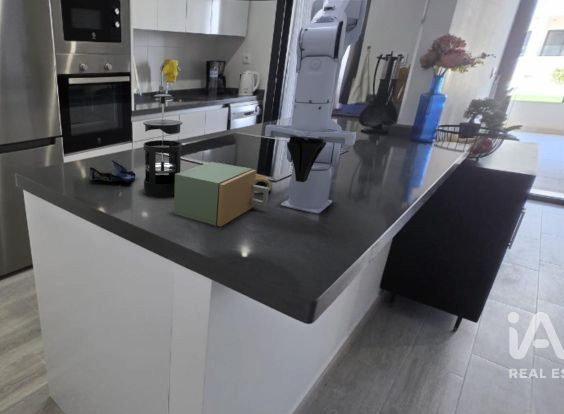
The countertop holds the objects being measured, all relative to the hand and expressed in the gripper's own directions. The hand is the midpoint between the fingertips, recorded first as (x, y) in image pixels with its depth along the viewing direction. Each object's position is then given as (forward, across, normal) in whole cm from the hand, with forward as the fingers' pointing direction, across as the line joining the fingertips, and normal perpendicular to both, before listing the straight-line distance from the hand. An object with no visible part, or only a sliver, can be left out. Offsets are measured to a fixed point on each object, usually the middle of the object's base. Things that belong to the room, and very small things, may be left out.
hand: (301, 180), depth 68 cm
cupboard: (+9, -17, -2) cm, 19 cm away
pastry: (+10, -17, +18) cm, 27 cm away
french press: (+10, -33, +2) cm, 34 cm away
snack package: (+10, -49, +1) cm, 50 cm away
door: (+9, -10, -1) cm, 13 cm away
